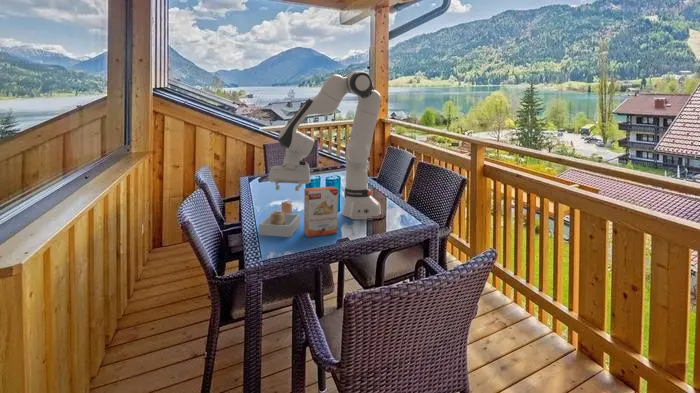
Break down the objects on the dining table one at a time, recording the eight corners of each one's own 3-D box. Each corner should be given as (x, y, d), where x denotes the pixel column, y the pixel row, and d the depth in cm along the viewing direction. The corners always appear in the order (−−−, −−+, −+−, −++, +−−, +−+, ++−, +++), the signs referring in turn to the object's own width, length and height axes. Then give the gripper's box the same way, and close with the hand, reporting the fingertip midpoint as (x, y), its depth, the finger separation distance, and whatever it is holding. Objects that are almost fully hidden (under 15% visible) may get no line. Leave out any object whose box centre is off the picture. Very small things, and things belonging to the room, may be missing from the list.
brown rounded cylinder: (293, 219, 200) (293, 201, 198) (290, 222, 195) (290, 204, 193) (283, 218, 201) (283, 201, 198) (280, 221, 196) (280, 203, 194)
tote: (300, 224, 192) (300, 214, 191) (290, 237, 175) (290, 226, 174) (272, 222, 194) (271, 212, 192) (259, 235, 176) (258, 224, 175)
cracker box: (308, 238, 174) (308, 191, 169) (303, 233, 180) (303, 188, 174) (337, 233, 181) (338, 188, 176) (332, 229, 186) (332, 185, 181)
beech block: (285, 228, 182) (284, 211, 180) (282, 232, 177) (281, 215, 176) (274, 228, 183) (274, 211, 181) (271, 231, 178) (270, 214, 176)
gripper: (269, 161, 196) (264, 185, 189) (311, 162, 194) (306, 187, 187) (272, 168, 202) (267, 192, 195) (312, 170, 200) (308, 194, 193)
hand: (287, 189), depth 191 cm, fingers open, 8 cm apart
